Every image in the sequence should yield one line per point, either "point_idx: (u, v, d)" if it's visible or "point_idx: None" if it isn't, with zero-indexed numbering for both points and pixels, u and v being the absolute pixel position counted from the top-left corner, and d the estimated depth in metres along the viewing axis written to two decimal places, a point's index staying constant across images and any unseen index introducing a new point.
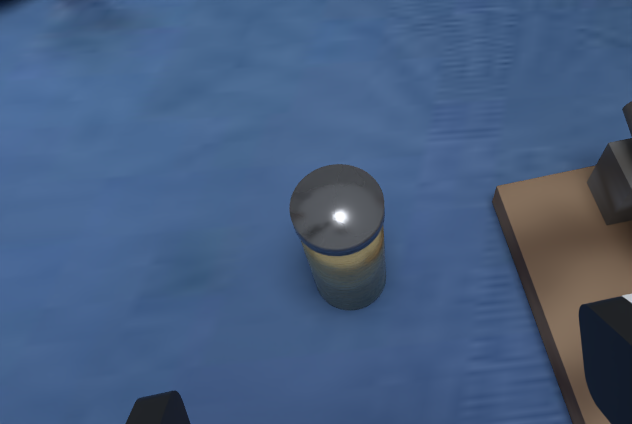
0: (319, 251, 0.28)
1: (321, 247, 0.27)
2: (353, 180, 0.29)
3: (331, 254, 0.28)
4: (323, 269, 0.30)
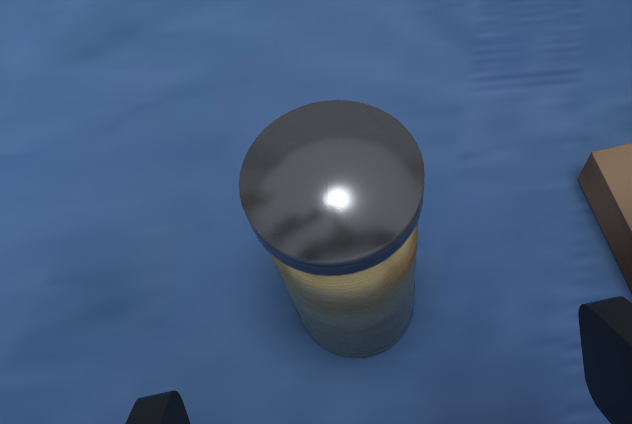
0: (297, 266, 0.14)
1: (300, 259, 0.14)
2: (361, 127, 0.15)
3: (321, 272, 0.14)
4: (308, 298, 0.17)
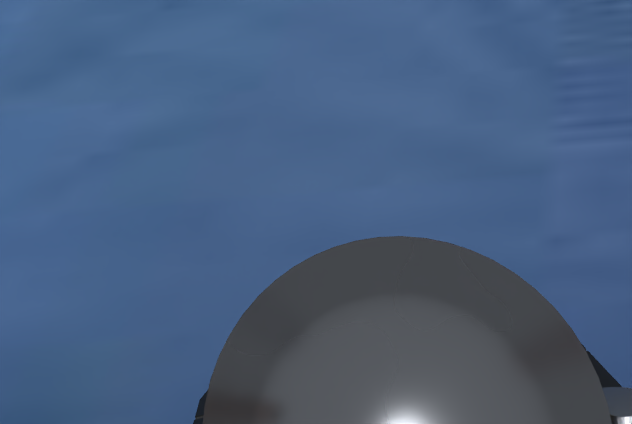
0: None
1: None
2: (459, 303, 0.07)
3: None
4: None
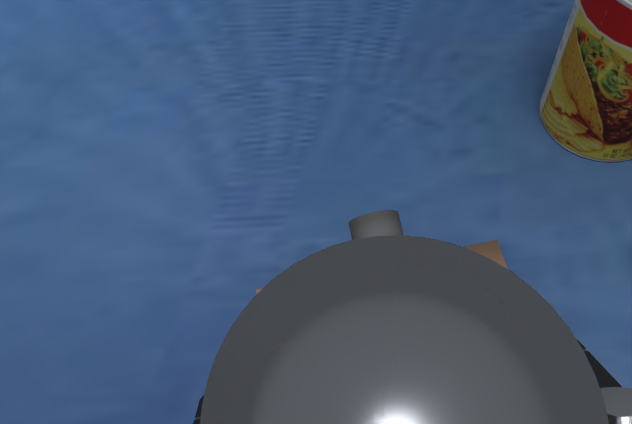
0: None
1: None
2: (456, 303, 0.07)
3: None
4: None
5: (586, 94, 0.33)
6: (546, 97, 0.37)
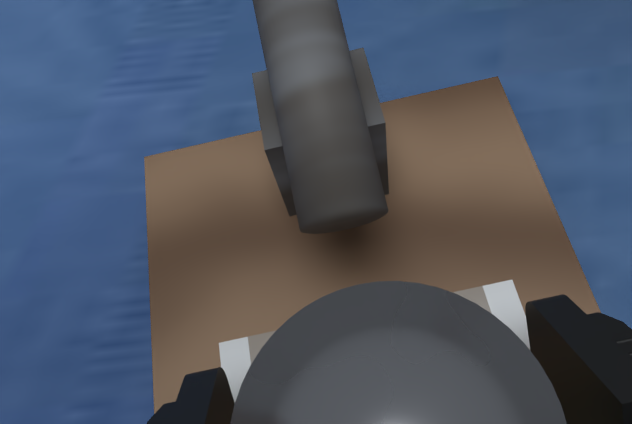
0: None
1: None
2: (445, 341, 0.08)
3: None
4: None
5: None
6: None
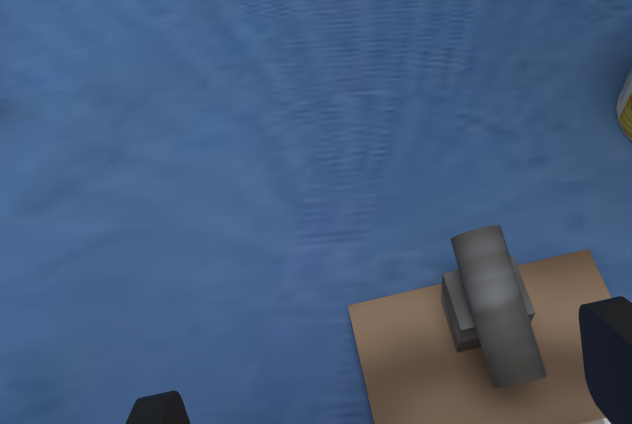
0: None
1: None
2: None
3: None
4: None
5: None
6: (626, 102, 0.37)
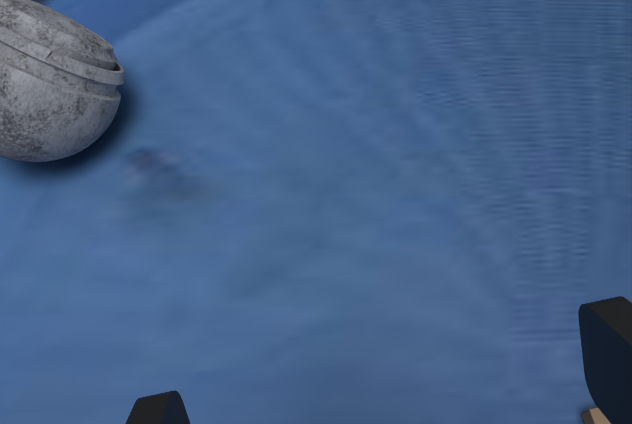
0: None
1: None
2: None
3: None
4: None
5: None
6: None
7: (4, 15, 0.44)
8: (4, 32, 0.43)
